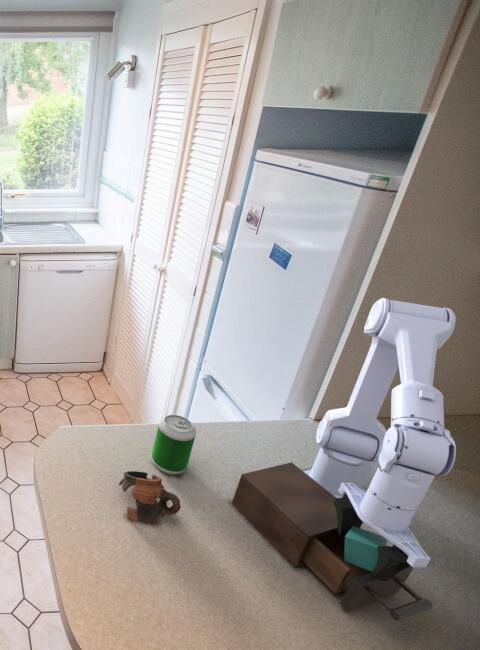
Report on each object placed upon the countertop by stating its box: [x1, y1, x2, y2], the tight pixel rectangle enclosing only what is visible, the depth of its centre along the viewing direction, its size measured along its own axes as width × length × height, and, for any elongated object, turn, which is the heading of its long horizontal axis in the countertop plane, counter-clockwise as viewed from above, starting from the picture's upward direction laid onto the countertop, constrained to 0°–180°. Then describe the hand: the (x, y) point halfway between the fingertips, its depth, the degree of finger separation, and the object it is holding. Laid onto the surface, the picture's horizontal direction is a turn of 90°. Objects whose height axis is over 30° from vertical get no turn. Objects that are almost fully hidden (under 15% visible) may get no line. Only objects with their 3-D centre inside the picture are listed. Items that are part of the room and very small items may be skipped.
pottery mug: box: [118, 470, 182, 524], centre depth 91 cm, size 12×10×8 cm
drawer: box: [301, 531, 434, 622], centre depth 77 cm, size 18×11×6 cm, turn 15°
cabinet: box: [231, 462, 364, 568], centre depth 87 cm, size 15×13×8 cm
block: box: [344, 526, 388, 572], centre depth 74 cm, size 4×4×4 cm
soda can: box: [151, 414, 197, 476], centre depth 101 cm, size 8×8×12 cm
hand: (361, 557), depth 75 cm, fingers closed on block, 7 cm apart
